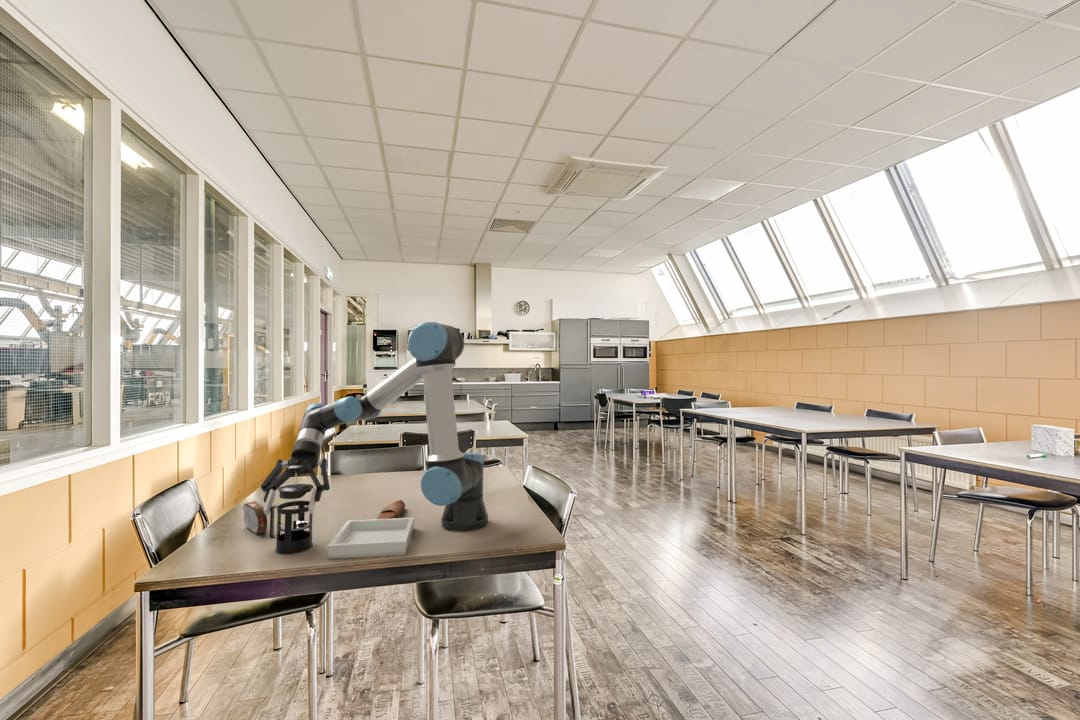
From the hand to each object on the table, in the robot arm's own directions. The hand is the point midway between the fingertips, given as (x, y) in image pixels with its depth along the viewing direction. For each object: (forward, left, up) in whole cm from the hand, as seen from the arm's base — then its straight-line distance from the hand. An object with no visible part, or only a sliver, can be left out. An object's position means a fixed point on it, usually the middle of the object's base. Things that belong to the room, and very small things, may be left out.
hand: (288, 512), depth 132 cm
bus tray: (-22, -4, -11) cm, 25 cm away
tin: (+17, -21, -11) cm, 29 cm away
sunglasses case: (-23, -29, -12) cm, 39 cm away
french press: (0, -3, -11) cm, 11 cm away
